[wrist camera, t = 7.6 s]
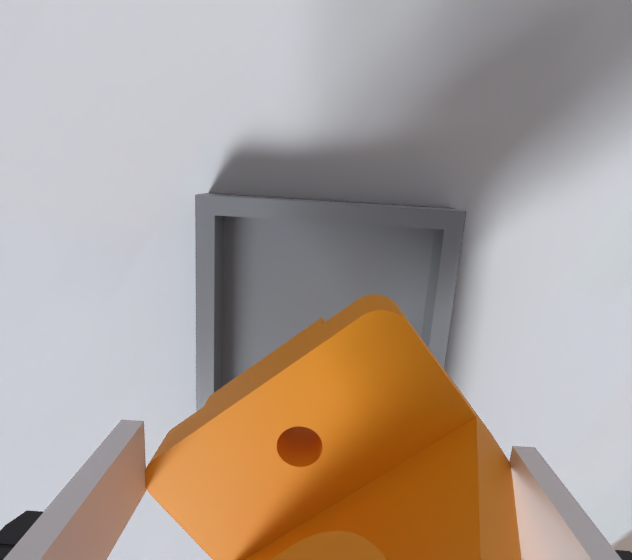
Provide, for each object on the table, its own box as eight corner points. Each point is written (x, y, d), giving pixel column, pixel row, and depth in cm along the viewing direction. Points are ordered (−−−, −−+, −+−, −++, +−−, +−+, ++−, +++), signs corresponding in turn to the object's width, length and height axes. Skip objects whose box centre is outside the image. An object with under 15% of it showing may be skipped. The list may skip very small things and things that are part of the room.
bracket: (378, 277, 16) (532, 562, 4) (482, 419, 17) (829, 952, 5) (160, 430, 17) (-176, 945, 6) (270, 549, 19) (178, 1173, 7)
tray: (207, 453, 28) (196, 479, 26) (207, 193, 24) (195, 194, 22) (417, 466, 28) (426, 493, 26) (451, 208, 24) (466, 211, 22)
